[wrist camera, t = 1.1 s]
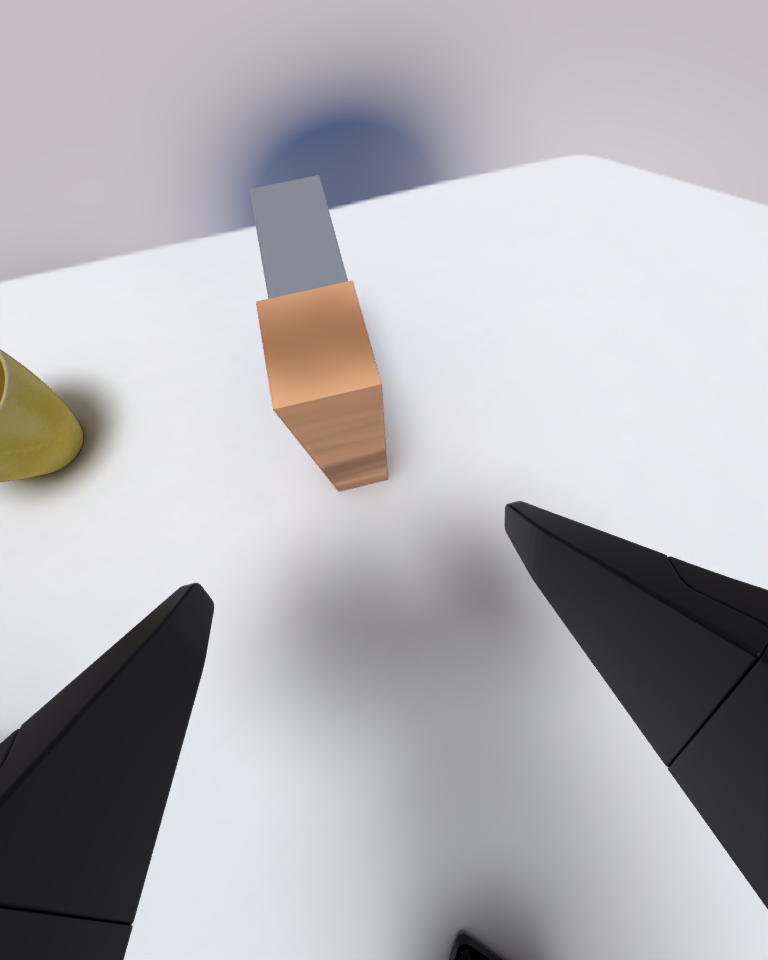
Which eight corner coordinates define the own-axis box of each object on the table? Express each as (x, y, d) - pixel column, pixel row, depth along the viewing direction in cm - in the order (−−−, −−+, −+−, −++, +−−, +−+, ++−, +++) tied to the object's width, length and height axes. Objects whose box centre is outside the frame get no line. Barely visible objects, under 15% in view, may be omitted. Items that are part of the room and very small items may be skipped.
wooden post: (387, 479, 23) (381, 384, 10) (338, 491, 23) (272, 409, 10) (373, 424, 24) (352, 280, 12) (326, 435, 24) (256, 301, 12)
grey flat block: (374, 420, 24) (361, 313, 14) (323, 432, 24) (270, 333, 14) (350, 325, 27) (322, 174, 16) (303, 335, 27) (246, 189, 16)
